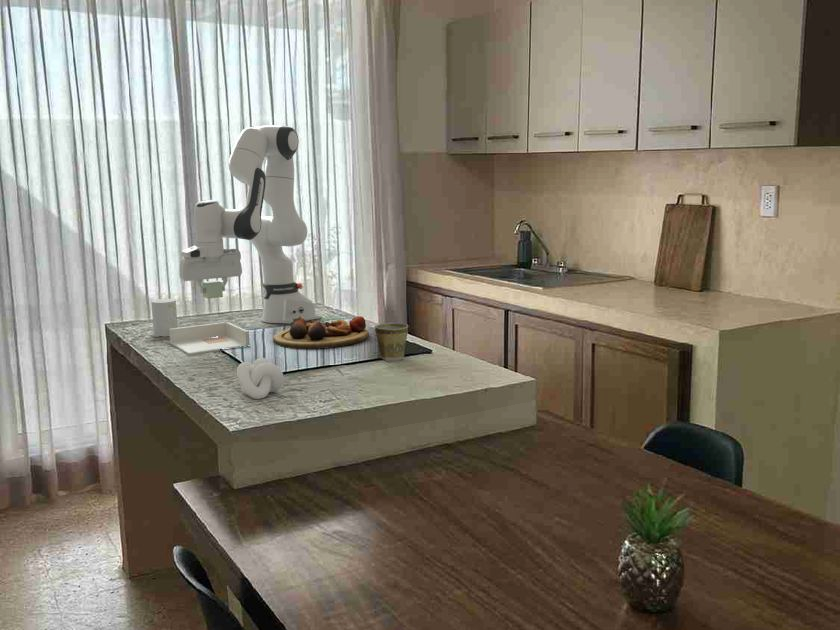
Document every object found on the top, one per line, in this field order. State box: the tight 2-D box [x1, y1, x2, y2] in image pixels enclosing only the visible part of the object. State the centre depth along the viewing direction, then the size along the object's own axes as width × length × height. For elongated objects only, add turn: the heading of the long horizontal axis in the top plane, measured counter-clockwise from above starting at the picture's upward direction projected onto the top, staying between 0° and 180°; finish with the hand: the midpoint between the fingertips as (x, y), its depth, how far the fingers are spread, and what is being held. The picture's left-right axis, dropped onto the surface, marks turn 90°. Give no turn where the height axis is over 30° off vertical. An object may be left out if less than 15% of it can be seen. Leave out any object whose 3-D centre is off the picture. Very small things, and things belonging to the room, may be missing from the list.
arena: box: [169, 321, 251, 356], centre depth 270 cm, size 20×20×5 cm
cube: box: [201, 280, 224, 300], centre depth 271 cm, size 5×5×5 cm
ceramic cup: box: [374, 322, 409, 362], centre depth 248 cm, size 13×10×10 cm
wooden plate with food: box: [272, 315, 370, 350], centre depth 276 cm, size 32×32×8 cm
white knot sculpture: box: [236, 357, 285, 400], centre depth 210 cm, size 11×12×9 cm
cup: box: [150, 298, 179, 337], centre depth 287 cm, size 8×8×12 cm
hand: (212, 292), depth 271 cm, fingers closed on cube, 5 cm apart
